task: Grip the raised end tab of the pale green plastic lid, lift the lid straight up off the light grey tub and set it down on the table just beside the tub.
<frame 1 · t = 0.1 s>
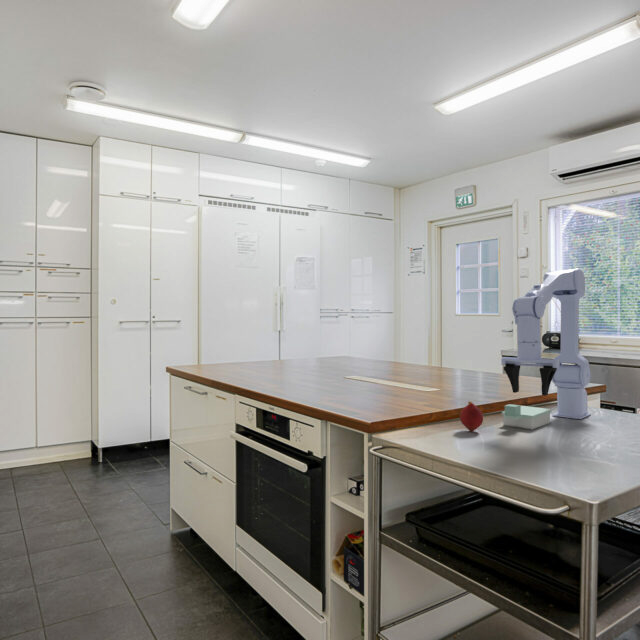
hand: (530, 393, 129), 10 cm above the table, fingers open, 7 cm apart
lid: (526, 413, 138), point 3 cm above the table, touching tub
onion: (471, 432, 130), on the table
tub: (527, 423, 138), on the table
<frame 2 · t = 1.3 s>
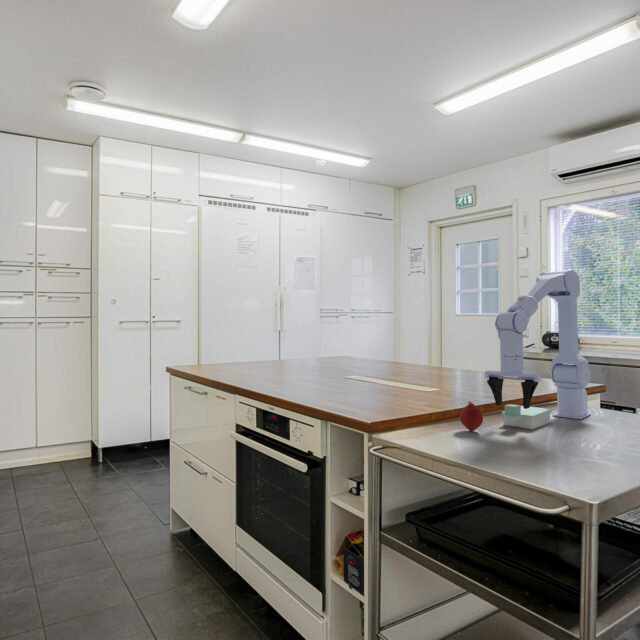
hand: (512, 406, 132), 6 cm above the table, fingers open, 7 cm apart
nothing on the table moved.
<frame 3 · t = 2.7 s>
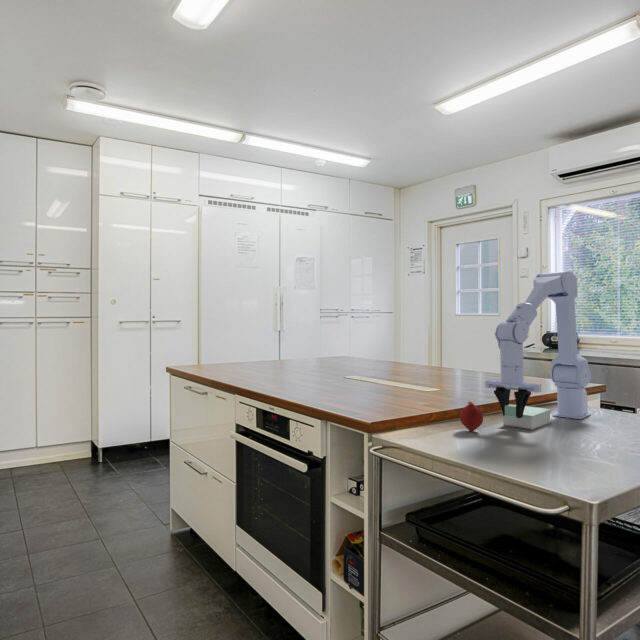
hand: (512, 416, 132), 3 cm above the table, fingers closed on lid, 3 cm apart
lid: (526, 413, 138), point 3 cm above the table, touching gripper, tub
everything else where it was.
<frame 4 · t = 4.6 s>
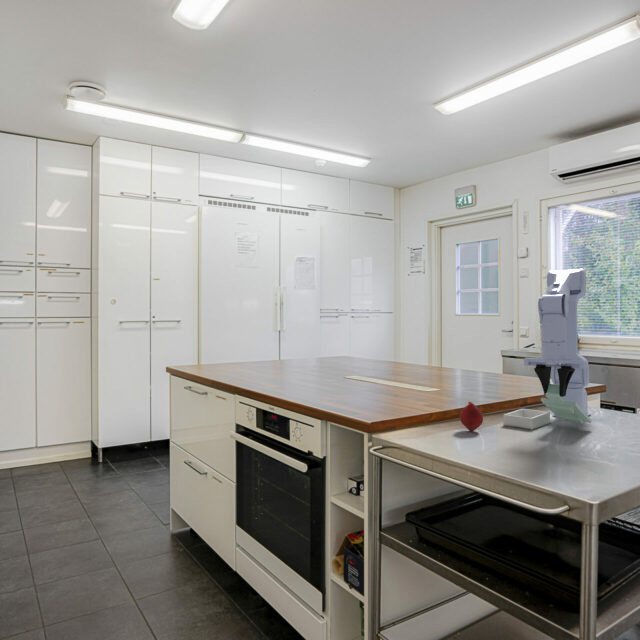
hand: (554, 395, 124), 10 cm above the table, fingers closed on lid, 3 cm apart
lid: (566, 411, 129), point 5 cm above the table, tilted 30°, touching gripper
everything else where it was.
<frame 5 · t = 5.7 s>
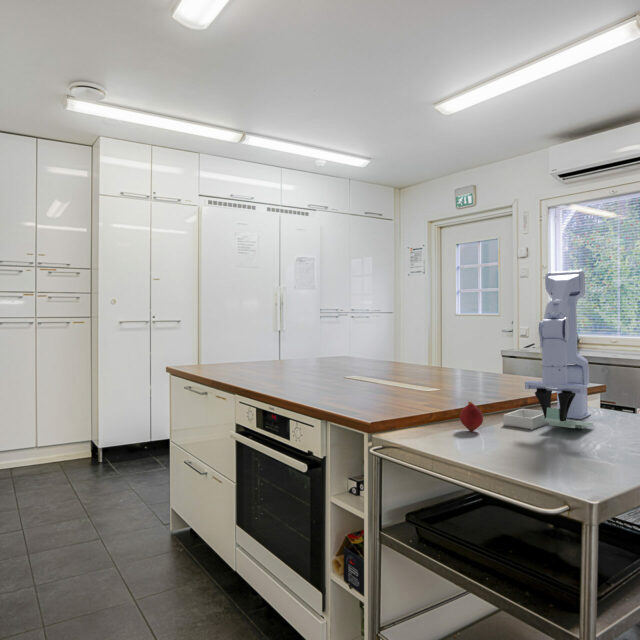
hand: (555, 419, 124), 4 cm above the table, fingers closed on lid, 3 cm apart
lid: (567, 423, 129), point 2 cm above the table, tilted 11°, touching gripper
everything else where it was.
when the fingers open (3 cm above the table, at t = 6.6 s): lid stays where it is, point 1 cm above the table.
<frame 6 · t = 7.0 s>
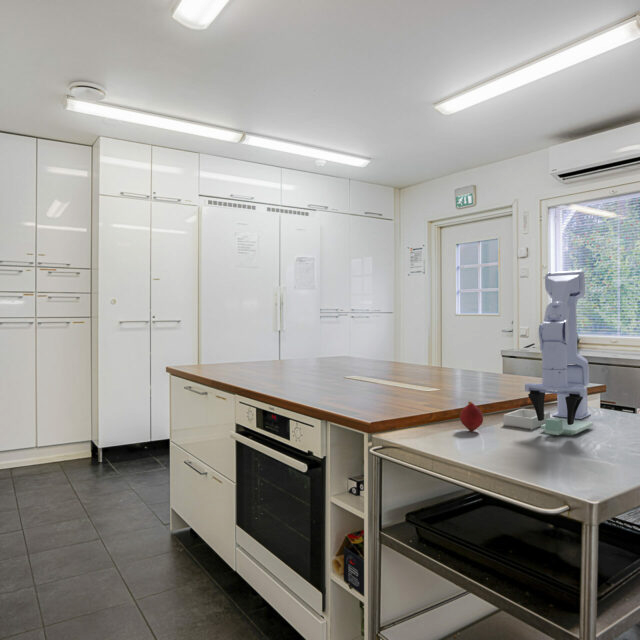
hand: (555, 422, 124), 3 cm above the table, fingers open, 7 cm apart
lid: (567, 427, 129), point 1 cm above the table
everything else where it was.
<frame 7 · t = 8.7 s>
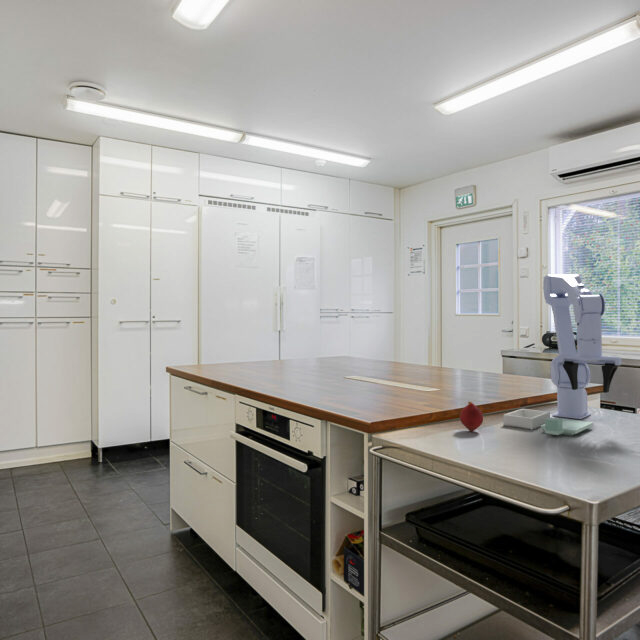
hand: (590, 390, 130), 10 cm above the table, fingers open, 7 cm apart
nothing on the table moved.
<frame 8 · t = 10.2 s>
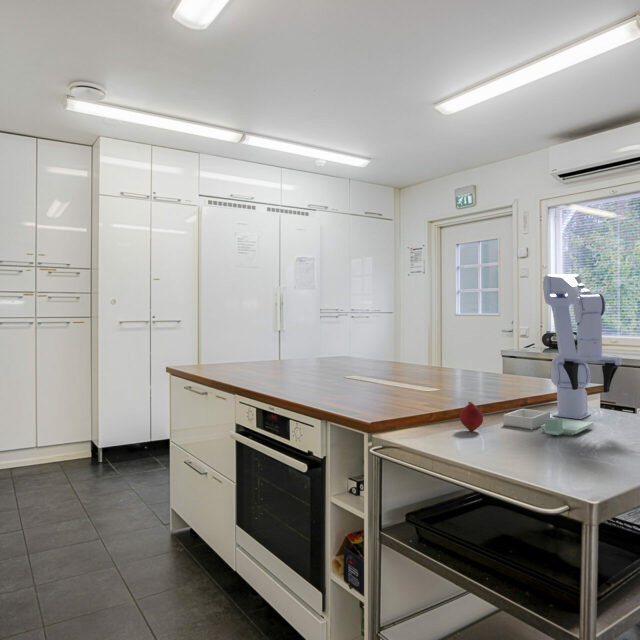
hand: (590, 390, 130), 10 cm above the table, fingers open, 7 cm apart
nothing on the table moved.
at the end: lid inside the target area (1.7 cm from its centre), point 0.9 cm above the table; lid touching table; the gripper is holding nothing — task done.
